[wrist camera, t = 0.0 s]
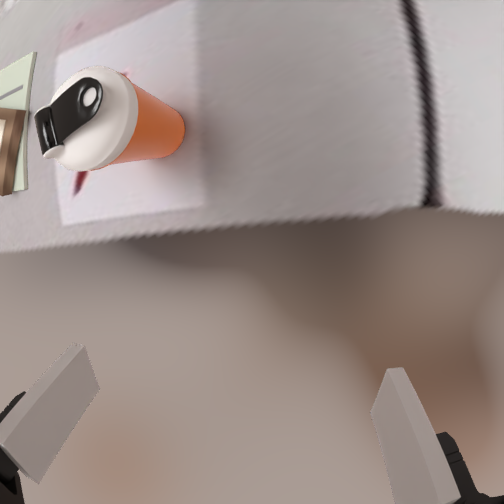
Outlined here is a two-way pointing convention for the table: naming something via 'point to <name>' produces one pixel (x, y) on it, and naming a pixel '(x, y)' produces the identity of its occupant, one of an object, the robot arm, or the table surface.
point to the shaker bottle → (106, 122)
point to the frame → (9, 145)
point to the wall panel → (17, 97)
